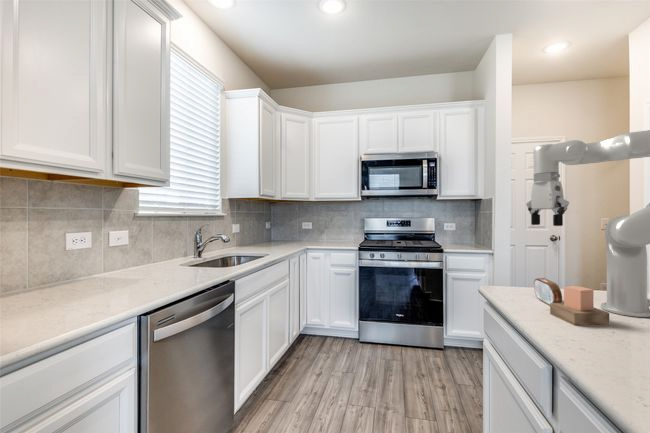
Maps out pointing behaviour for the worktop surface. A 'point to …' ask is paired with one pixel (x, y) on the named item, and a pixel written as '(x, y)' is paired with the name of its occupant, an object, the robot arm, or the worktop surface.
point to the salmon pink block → (578, 298)
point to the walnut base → (579, 315)
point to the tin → (547, 291)
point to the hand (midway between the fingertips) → (546, 225)
